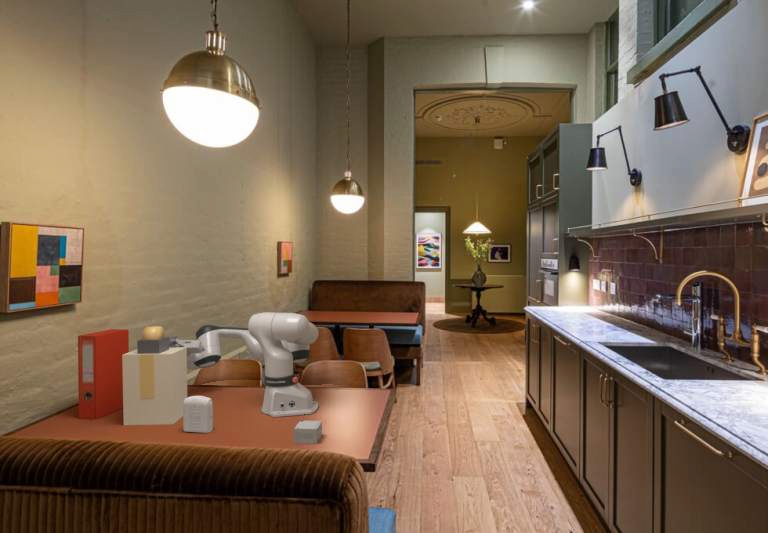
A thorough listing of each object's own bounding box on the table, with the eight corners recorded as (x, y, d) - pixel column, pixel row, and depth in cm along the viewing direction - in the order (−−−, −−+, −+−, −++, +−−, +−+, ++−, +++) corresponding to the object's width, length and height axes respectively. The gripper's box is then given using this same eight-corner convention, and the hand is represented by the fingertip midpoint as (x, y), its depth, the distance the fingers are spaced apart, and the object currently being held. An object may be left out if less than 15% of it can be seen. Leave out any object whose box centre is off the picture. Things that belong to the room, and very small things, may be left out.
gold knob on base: (159, 353, 168) (158, 327, 168) (137, 353, 168) (137, 328, 168) (183, 343, 189) (183, 320, 189) (164, 343, 189) (163, 320, 189)
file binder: (129, 405, 191) (128, 329, 191) (97, 419, 174) (95, 336, 174) (113, 404, 192) (111, 329, 192) (78, 418, 175) (77, 335, 175)
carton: (187, 412, 181) (186, 347, 181) (172, 424, 168) (171, 354, 167) (141, 413, 181) (140, 348, 180) (123, 425, 167) (122, 354, 167)
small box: (317, 444, 148) (316, 428, 148) (293, 444, 149) (293, 428, 149) (322, 435, 156) (322, 420, 156) (300, 435, 157) (299, 420, 156)
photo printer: (215, 429, 162) (214, 394, 162) (208, 433, 158) (208, 398, 158) (188, 428, 164) (187, 393, 164) (181, 432, 160) (180, 397, 160)
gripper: (205, 358, 197) (194, 347, 185) (157, 358, 196) (143, 348, 184) (208, 344, 200) (197, 332, 188) (161, 344, 200) (146, 333, 187)
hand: (170, 340), depth 186 cm, fingers closed on gold knob on base, 3 cm apart
